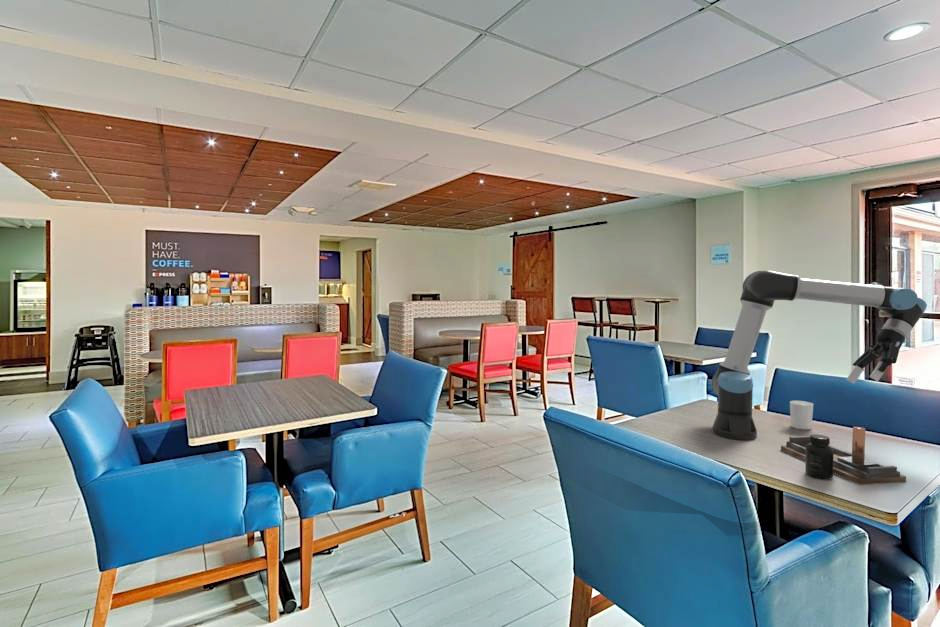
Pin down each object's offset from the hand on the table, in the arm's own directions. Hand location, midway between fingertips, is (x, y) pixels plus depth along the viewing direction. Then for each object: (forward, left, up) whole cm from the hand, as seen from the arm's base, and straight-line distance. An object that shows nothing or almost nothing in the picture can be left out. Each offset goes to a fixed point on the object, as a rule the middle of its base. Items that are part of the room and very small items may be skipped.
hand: (861, 380), depth 176 cm
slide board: (-21, -26, -23) cm, 40 cm away
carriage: (-20, -33, -21) cm, 43 cm away
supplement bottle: (-32, -36, -23) cm, 54 cm away
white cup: (-11, +17, -23) cm, 31 cm away
